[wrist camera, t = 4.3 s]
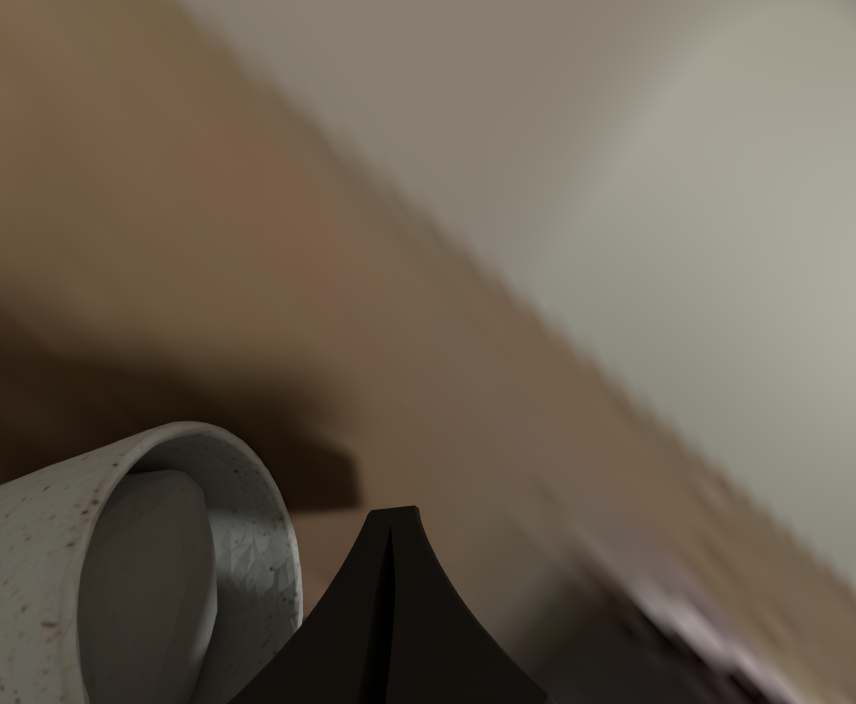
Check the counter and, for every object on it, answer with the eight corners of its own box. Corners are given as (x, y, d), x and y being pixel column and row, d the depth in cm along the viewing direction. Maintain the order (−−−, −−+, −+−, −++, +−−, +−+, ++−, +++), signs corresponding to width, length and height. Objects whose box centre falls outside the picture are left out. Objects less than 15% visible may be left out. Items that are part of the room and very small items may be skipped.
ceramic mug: (-33, 466, 13) (-579, 794, 6) (217, 371, 13) (-36, 600, 5) (160, 693, 16) (-32, 1082, 9) (363, 625, 16) (331, 979, 9)
